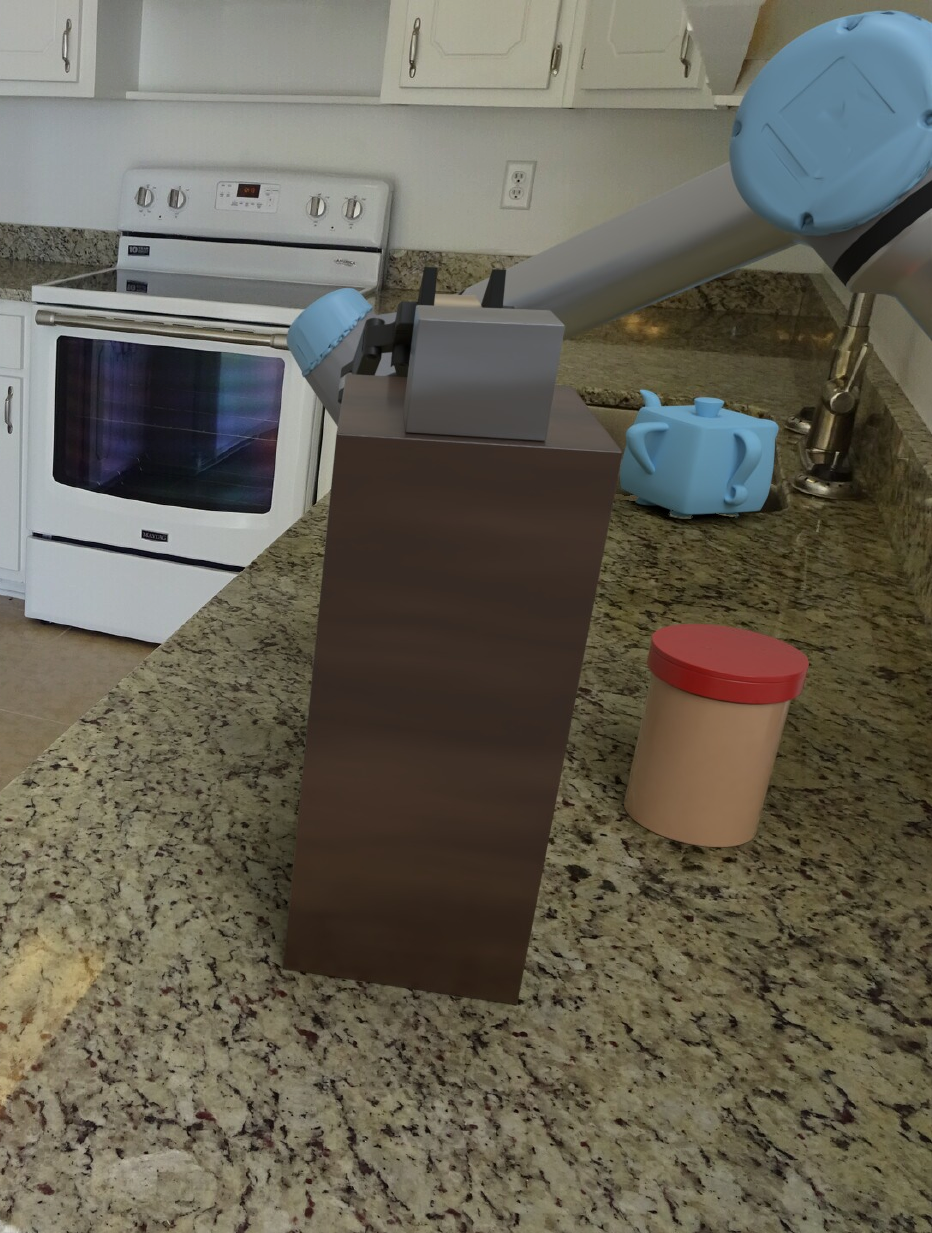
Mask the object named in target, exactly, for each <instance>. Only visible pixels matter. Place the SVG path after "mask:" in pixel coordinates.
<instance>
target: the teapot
mask: <svg viewBox="0 0 932 1233" xmlns="http://www.w3.org/2000/svg"><path fill="white" fill-rule="evenodd" d="M639 393H640V395H641V397H642V399H643V402H644V406H642V407H641V408H640V409H639V411H638V413H637V415H636V418H635V420H634V423H633V425H631V426H630V427H629V428H627V430H626V432H625V442H626V445H625V448H624V452H623V454H622V459H621V465H620V470H619V484H620V485H619V486H620V488H621V489H622V490H623V491H625V492H627V493H629V494H631V495H633V496H635V497H637V499H636V500H635V503H637V504H638V505H642V506H659V507H662V508H665V509H667V510H669V513H671V514H672V515H674V516H677V517H690V516H692V515H693V516H694V515H707V514H708V515H709V514H715V513H719V514H726V515H736V516H739V517H740V515H739V513H749V512H760V511H761V510H762V508H763V506H764V504H766V500H767V499H768V496H769V493H770V489H771V485H772V479H773V472H774V466H775V455H776V454H775V452H776V437H777V436H778V434H779V429H780V428H779V425H778V424H777V422H775V421H773V420H771V419H765V418H758V417H755V416H751V415H748V414H745V413H742V412H738V411H734V410H730V409H727V408H723V406H724V404H725V401H724V400H722V399H720V398H716V397H708V396H706V397H705V396H699V397H696V398H694V404H693V405H688V404H687V405H662V403H661V399H660V398H659V396H658V395H657V394H656V393H654V392H652V391H650V390H648V389H640V390H639ZM672 510H673V511H672ZM669 513H668V514H669ZM693 516H692V517H693Z"/></svg>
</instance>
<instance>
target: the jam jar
mask: <svg viewBox="0 0 932 1233" xmlns="http://www.w3.org/2000/svg"><path fill="white" fill-rule="evenodd" d="M649 678H650V679H649V682H648V687H647V691H646V697H645V702H644V705H643V710H642V715H641V719H640V720H641V721H640V725H639V729H638V734H637V738H636V743H635V748H634V752H633V757H632V761H631V766H630V771H629V776H628V780H627V784H626V790H625V795H624V798H623V799H624V800H623V807H624V810H625V812H626V813H627V815H628V816H629V817H630V818H631V819H632V820H633V821H635V822H636V823H637V824H638V825H640V826H641V827H643V828H644V829H647V830H648V831H651V832H652V833H654V834H657V835H659V836H662V837H664V838H667V839H670V840H672V841H676V842H680V843H684V844H688V845H693V846H694V845H695V846H697V847H708V848H730V847H731V848H732V847H736V846H740V845H744V844H747V843H749V842H750V841H752V840H753V839H754V838H755V836H756V834H757V832H758V828H759V825H760V824H759V823H760V820H761V816H762V813H763V810H764V805H765V801H766V798H767V794H768V791H769V790H768V789H769V786H770V782H771V778H772V774H773V771H774V766H775V763H776V760H777V757H778V752H779V748H780V745H781V741H782V738H783V733H784V729H785V725H786V722H787V718H788V714H789V711H790V706H791V703H792V699H791V700H789V701H785V702H780V703H771V704H749V703H736V702H730V701H724V700H718V699H712V698H709V697H704V696H701V695H697V694H694V693H690V692H687V691H685V690H682V689H679V688H677V687H675V686H672V685H670V684H668V683H666V682H664V681H663V680H661V679H659V678H658V677H656V676H655V675H654V674H653V673H652V672H651V674H650V677H649Z"/></svg>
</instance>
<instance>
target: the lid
mask: <svg viewBox="0 0 932 1233" xmlns="http://www.w3.org/2000/svg"><path fill="white" fill-rule="evenodd" d="M809 662H810V661H809V659H808V657H807V656H806V655H805V654H804V653H803V652H802V651H801V650H800V649H798V648H797V647H795V646H793V645H791V644H789V643H787V642H785V641H782V640H781V639H778V638H775V637H772V636H769V635H767V634H764V633H760V632H757V631H753V630H748V629H744V628H738V627H732V626H726V625H720V624H710V623H680V624H672V625H667V626H664V627H661V628H659V629H657V630H656V631H654V632H653V634H652V636H651V640H650V644H649V649H648V654H647V659H646V666H647V668H648V670H649V671H650V672H651V673H653V674H654V675H655V676H656V677H658V678H659V679H661V680H663V681H664V682H666V683H668V684H670V685H672V686H675V687H677V688H679V689H682V690H685V691H687V692H690V693H694V694H697V695H701V696H704V697H709V698H712V699H718V700H724V701H730V702H736V703H749V704H771V703H780V702H785V701H789V700H791V701H792V700H794V699H796V698H798V697H799V696H800V694H802V692H803V688H804V686H805V682H806V678H807V674H808V671H809V666H810V663H809Z"/></svg>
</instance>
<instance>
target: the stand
mask: <svg viewBox="0 0 932 1233" xmlns="http://www.w3.org/2000/svg"><path fill="white" fill-rule="evenodd" d="M406 385H407V377H393V376H374V375H355V374H346V378H345V384H344V390H343V397H342V403H341V409H340V415H339V421H338V427H337V428H336V435H335V445H334V454H333V465H332V474H331V483H330V484H331V485H330V492H329V493H330V494H329V502H328V503H329V504H328V513H327V524H326V532H325V534H326V535H325V544H324V552H323V554H324V555H323V562H322V575H321V581H320V582H321V583H320V593H319V603H318V612H317V613H318V614H317V615H318V616H317V623H316V633H315V644H314V652H313V663H312V675H311V683H310V694H309V701H308V702H309V703H308V712H307V721H306V722H307V724H306V733H305V741H304V742H305V743H304V753H303V761H302V762H303V763H302V773H301V783H300V792H299V802H298V812H297V821H296V830H295V831H296V832H295V842H294V852H293V862H292V870H291V871H292V872H291V882H290V892H289V901H288V902H289V903H288V912H287V922H286V923H287V924H286V933H285V940H284V952H283V960H282V961H283V962H282V969H283V970H289V971H295V972H300V973H301V972H302V973H308V974H315V975H320V976H321V975H322V976H326V977H334V978H339V979H347V980H354V981H359V982H365V983H371V984H379V985H386V986H392V987H398V988H399V987H400V988H405V989H412V990H418V991H424V992H431V993H437V994H443V995H450V996H457V997H464V998H469V999H475V1000H482V1001H490V1002H496V1003H501V1004H502V1003H503V1004H508V1005H518V1003H519V997H520V993H521V987H522V983H523V978H524V971H525V966H526V961H527V956H528V950H529V945H530V940H531V935H532V930H533V924H534V919H535V914H536V908H537V903H538V898H539V893H540V888H541V883H542V878H543V874H544V867H545V862H546V856H547V852H548V845H549V841H550V835H551V830H552V825H553V820H554V814H555V810H556V804H557V800H558V795H559V789H560V785H561V784H560V783H561V778H562V774H563V768H564V762H565V756H566V752H567V747H568V741H569V737H570V731H571V726H572V720H573V714H574V709H575V705H576V701H577V700H576V699H577V694H578V689H579V684H580V678H581V674H582V668H583V662H584V659H585V658H584V657H585V654H586V653H585V652H586V647H587V642H588V636H589V631H590V626H591V621H592V615H593V611H594V605H595V600H596V595H597V589H598V584H599V580H600V574H601V569H602V563H603V560H604V559H603V558H604V553H605V548H606V544H607V537H608V532H609V527H610V522H611V516H612V512H613V506H614V502H615V501H614V500H615V495H616V491H617V487H618V486H617V484H618V480H619V476H620V468H621V463H622V459H623V455H624V452H623V451H622V450H621V447H619V445H618V444H617V443H616V441H615V439H614V438H612V436H611V435H610V433H609V432H608V431H607V430H606V429H605V427H604V426H603V424H602V423H601V422H600V421H599V419H598V418H597V416H595V414H594V412H593V411H592V410H591V409H590V408H589V406H588V405H587V404H586V403H585V401H584V400H583V399H582V397H581V396H580V395H579V393H578V392H577V391H576V389H575V388H574V387H573V386H572V385H565V384H564V385H561V384H555V390H554V396H553V402H552V408H551V414H550V420H549V426H548V432H547V438H546V441H532V440H516V439H500V438H483V437H467V436H451V435H435V434H419V433H406V432H405V423H404V402H405V394H406Z"/></svg>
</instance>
